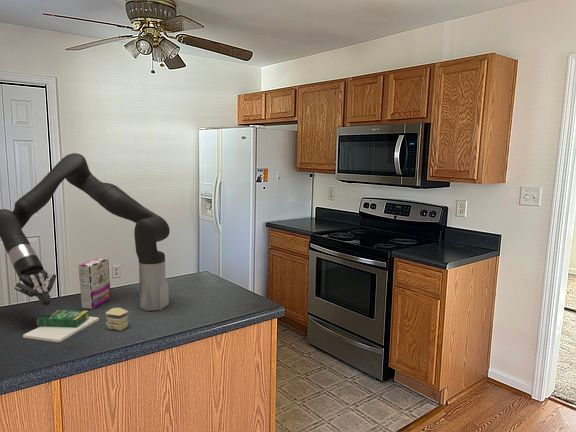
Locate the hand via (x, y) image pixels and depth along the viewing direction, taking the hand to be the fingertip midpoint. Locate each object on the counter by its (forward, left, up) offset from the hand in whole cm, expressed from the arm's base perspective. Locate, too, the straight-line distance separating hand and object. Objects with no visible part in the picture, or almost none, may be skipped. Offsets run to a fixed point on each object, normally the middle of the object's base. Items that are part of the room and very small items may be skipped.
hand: (47, 303), depth 136 cm
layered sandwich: (-21, -6, -8) cm, 23 cm away
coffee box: (+4, -2, -6) cm, 7 cm away
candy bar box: (0, -23, -8) cm, 24 cm away
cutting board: (-5, -1, -8) cm, 9 cm away
